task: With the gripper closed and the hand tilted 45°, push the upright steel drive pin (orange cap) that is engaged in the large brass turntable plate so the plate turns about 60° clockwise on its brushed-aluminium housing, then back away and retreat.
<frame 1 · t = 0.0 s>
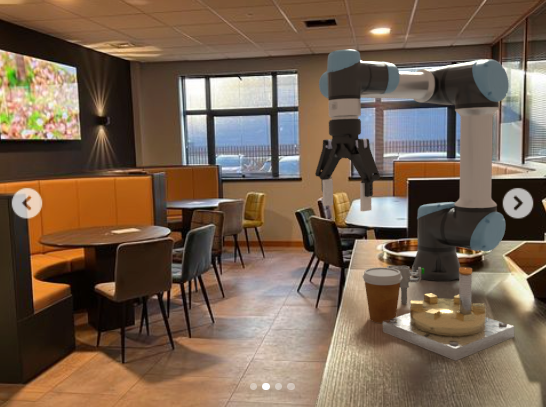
hand: (346, 208, 126), 28 cm above the counter, tool pointing down, fingers open, 13 cm apart
brass turntable plate: (447, 292, 117), point 10 cm above the counter, hinge at 0.0°
mechanical component: (404, 304, 140), on the counter
housing: (446, 334, 118), on the counter
disposable coffee cup: (382, 319, 129), on the counter
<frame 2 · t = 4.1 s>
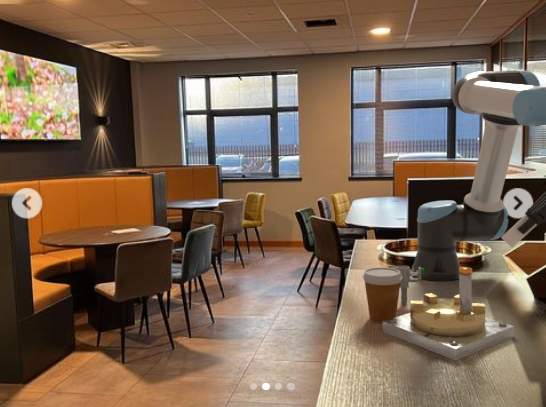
hand: (506, 242, 107), 23 cm above the counter, tool tilted 45°, fingers closed
nothing on the counter moved.
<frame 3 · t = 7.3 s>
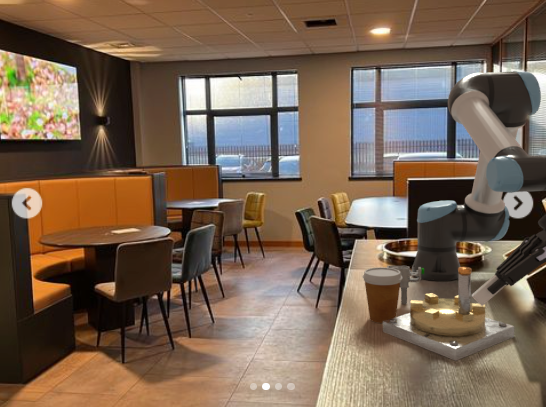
hand: (476, 300, 110), 10 cm above the counter, tool tilted 45°, fingers closed
brass turntable plate: (447, 292, 117), point 10 cm above the counter, hinge at 1.7°, touching gripper
everything else where it was.
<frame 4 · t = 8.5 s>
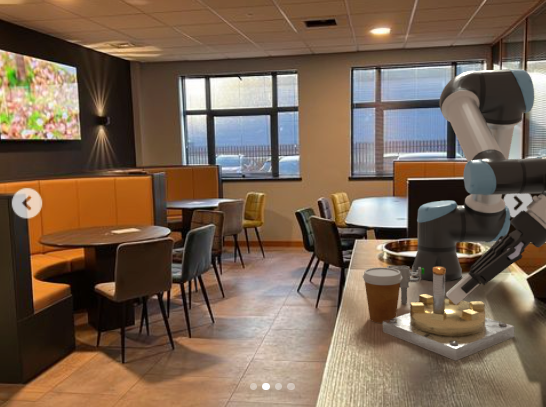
hand: (450, 299, 111), 10 cm above the counter, tool tilted 45°, fingers closed
brass turntable plate: (447, 292, 117), point 10 cm above the counter, hinge at 48.7°, touching gripper
everything else where it was.
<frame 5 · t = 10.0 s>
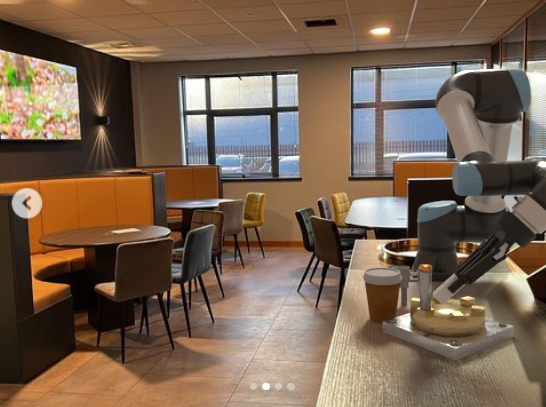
hand: (437, 298, 112), 10 cm above the counter, tool tilted 45°, fingers closed
brass turntable plate: (447, 292, 117), point 10 cm above the counter, hinge at 76.8°, touching gripper
everything else where it was.
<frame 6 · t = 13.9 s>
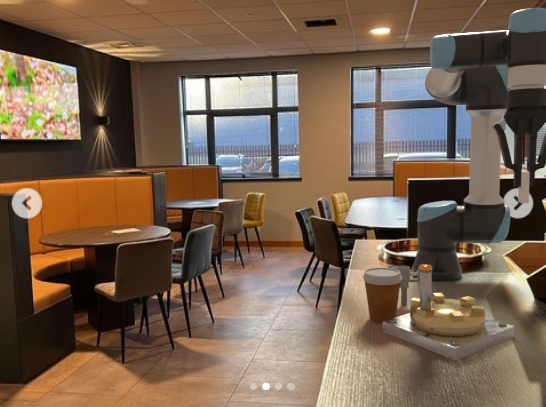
hand: (523, 202, 111), 30 cm above the counter, tool pointing down, fingers closed
brass turntable plate: (447, 292, 117), point 10 cm above the counter, hinge at 76.9°
everything else where it was.
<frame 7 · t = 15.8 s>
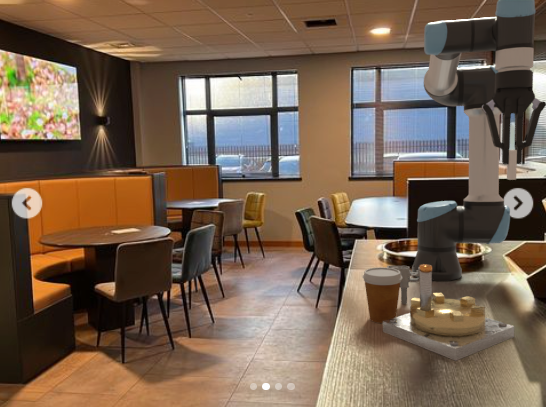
hand: (511, 179, 116), 34 cm above the counter, tool pointing down, fingers closed
nothing on the counter moved.
at the end: brass turntable plate at +77° (first picture: +0°); disposable coffee cup moved 0.2 cm from its start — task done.
